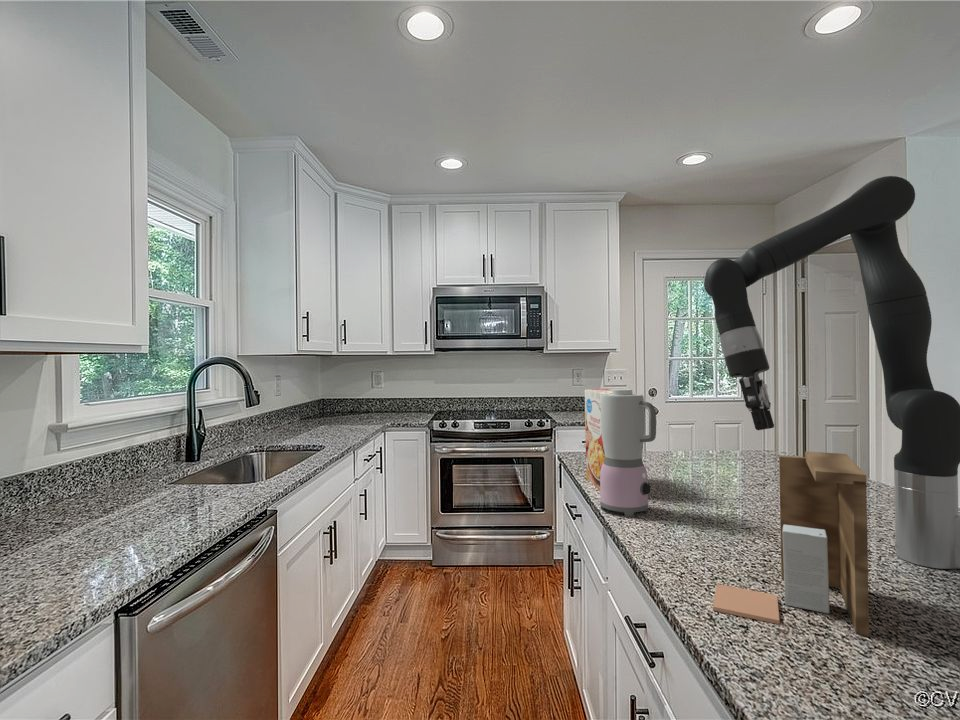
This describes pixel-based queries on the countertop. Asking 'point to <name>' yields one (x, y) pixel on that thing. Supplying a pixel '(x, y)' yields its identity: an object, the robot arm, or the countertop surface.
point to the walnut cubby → (831, 520)
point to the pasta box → (594, 435)
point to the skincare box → (806, 568)
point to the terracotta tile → (746, 603)
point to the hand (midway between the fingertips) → (765, 429)
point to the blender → (625, 451)
